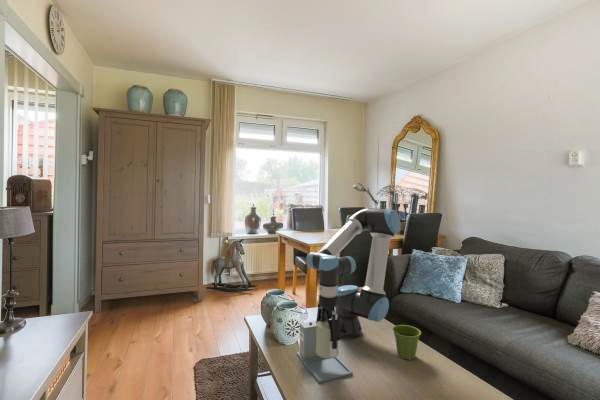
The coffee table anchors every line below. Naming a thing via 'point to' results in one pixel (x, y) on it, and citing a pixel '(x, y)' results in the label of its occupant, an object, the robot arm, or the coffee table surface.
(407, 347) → the plant pot
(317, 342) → the can
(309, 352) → the box
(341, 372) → the tray
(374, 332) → the coffee table surface
